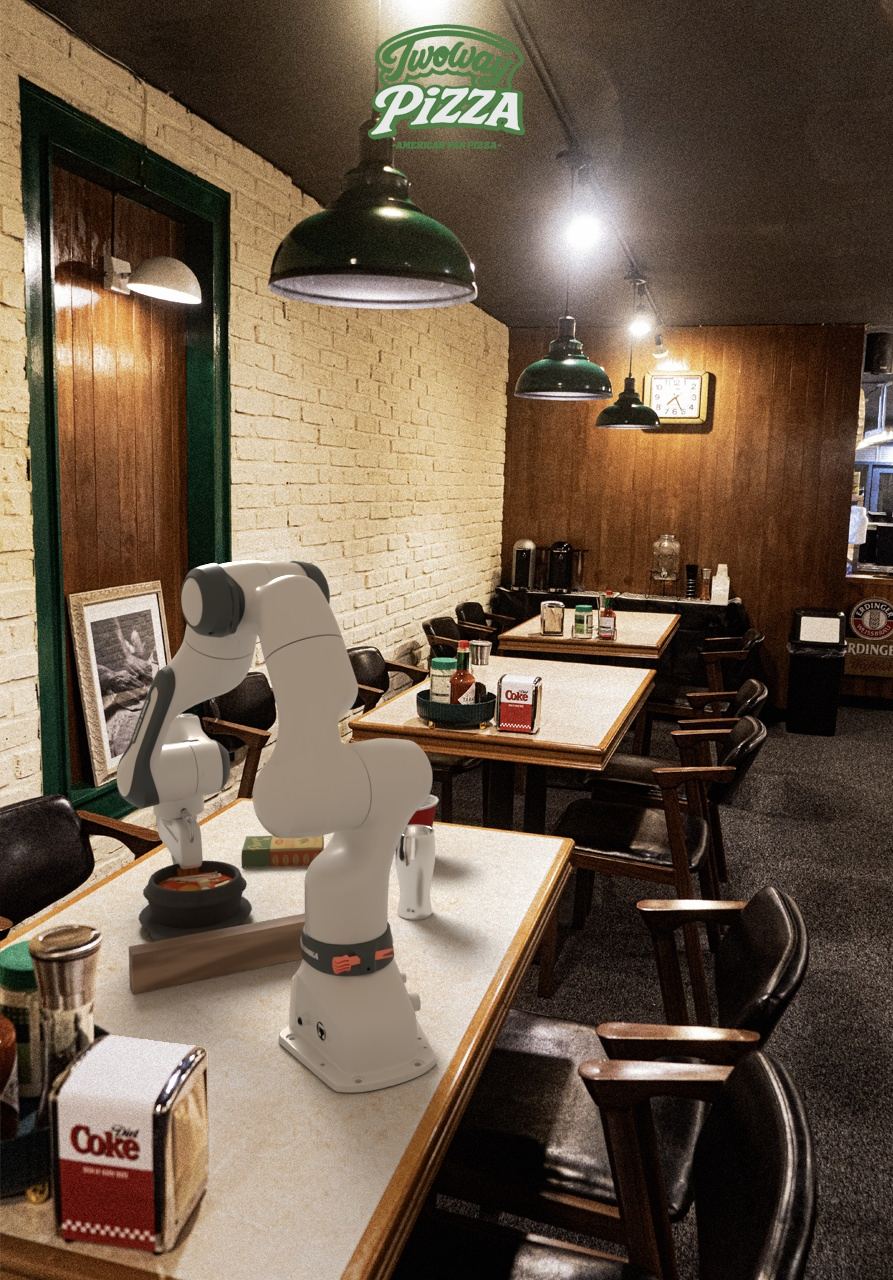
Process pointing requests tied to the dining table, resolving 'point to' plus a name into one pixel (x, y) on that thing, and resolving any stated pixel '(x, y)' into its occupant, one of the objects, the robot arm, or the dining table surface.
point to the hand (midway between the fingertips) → (180, 876)
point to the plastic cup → (425, 812)
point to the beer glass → (415, 871)
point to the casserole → (194, 900)
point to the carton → (280, 851)
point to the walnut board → (214, 953)
